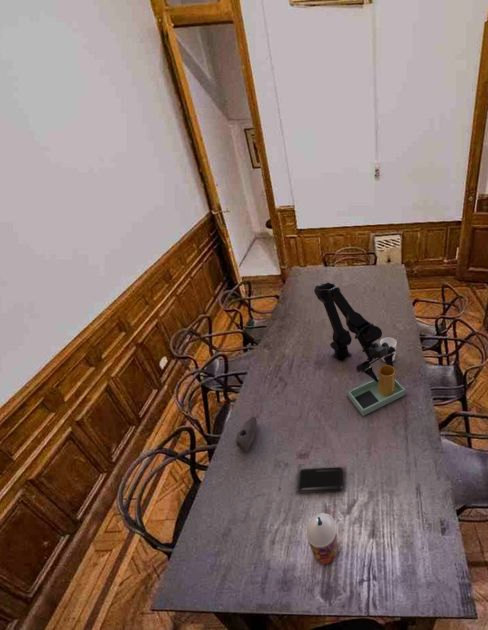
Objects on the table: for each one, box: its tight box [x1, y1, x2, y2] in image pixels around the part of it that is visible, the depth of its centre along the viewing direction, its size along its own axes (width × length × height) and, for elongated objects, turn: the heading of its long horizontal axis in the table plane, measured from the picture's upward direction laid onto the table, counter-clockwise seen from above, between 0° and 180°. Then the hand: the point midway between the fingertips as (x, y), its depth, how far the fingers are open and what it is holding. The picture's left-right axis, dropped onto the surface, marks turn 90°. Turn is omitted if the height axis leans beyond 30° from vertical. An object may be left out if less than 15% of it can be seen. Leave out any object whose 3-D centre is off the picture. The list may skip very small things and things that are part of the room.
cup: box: [378, 364, 396, 397], centre depth 146 cm, size 7×7×12 cm
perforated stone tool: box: [235, 416, 258, 453], centre depth 130 cm, size 15×5×7 cm, turn 172°
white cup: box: [379, 336, 397, 362], centre depth 165 cm, size 8×8×10 cm
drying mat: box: [354, 390, 379, 409], centre depth 145 cm, size 8×8×1 cm
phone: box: [297, 466, 344, 494], centre depth 117 cm, size 8×1×15 cm
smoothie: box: [305, 513, 338, 565], centre depth 93 cm, size 8×8×20 cm
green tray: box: [347, 377, 406, 417], centre depth 147 cm, size 21×12×4 cm, turn 120°
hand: (385, 376), depth 145 cm, fingers open, 9 cm apart
